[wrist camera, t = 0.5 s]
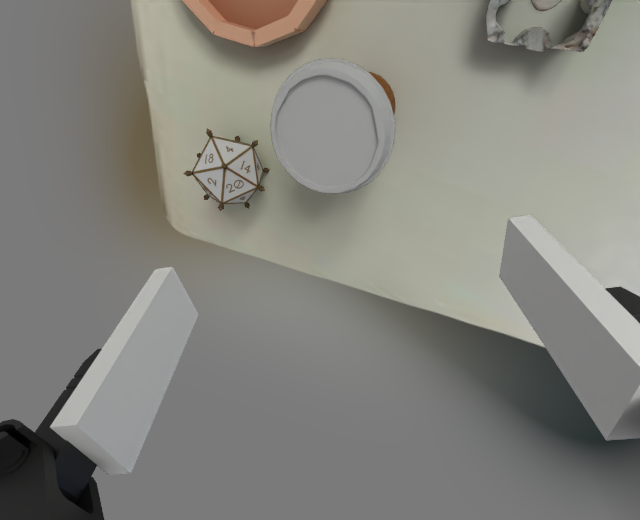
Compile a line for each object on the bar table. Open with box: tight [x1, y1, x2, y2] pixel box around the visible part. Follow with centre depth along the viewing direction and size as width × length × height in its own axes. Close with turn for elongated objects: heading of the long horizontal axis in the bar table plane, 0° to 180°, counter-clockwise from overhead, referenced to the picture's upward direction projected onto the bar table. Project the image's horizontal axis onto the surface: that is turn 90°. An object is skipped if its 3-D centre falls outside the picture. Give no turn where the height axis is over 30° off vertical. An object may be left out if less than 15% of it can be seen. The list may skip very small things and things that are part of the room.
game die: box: [183, 129, 269, 211], centre depth 38 cm, size 9×8×10 cm
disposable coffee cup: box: [270, 58, 395, 193], centre depth 29 cm, size 10×10×12 cm
